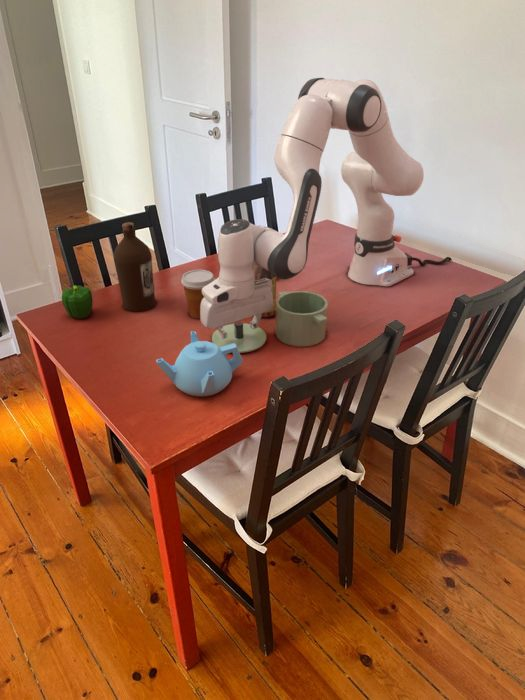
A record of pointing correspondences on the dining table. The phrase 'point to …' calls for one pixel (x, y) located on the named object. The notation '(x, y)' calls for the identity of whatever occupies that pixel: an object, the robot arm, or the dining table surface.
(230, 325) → the lid
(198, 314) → the disposable coffee cup
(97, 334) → the dining table surface
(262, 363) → the dining table surface
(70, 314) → the bell pepper
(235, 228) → the robot arm
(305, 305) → the pot
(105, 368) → the dining table surface
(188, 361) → the teapot
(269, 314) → the sauce bottle
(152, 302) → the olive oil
